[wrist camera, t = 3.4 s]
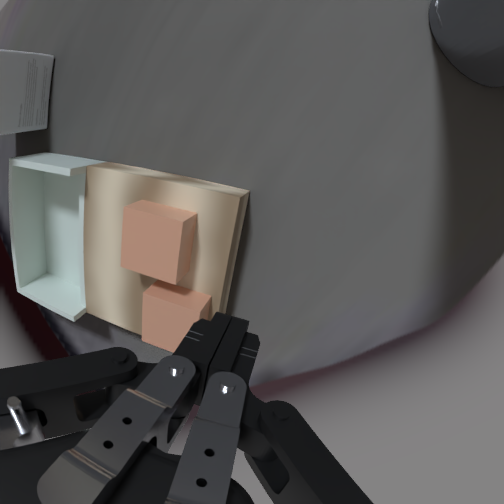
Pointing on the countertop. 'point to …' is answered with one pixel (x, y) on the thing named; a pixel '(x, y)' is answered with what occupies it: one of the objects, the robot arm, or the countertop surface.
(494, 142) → the countertop surface
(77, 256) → the box
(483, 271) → the countertop surface
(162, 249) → the tile
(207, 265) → the board
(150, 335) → the tile
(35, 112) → the skincare box
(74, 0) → the countertop surface
